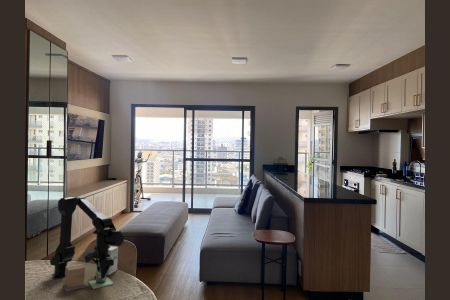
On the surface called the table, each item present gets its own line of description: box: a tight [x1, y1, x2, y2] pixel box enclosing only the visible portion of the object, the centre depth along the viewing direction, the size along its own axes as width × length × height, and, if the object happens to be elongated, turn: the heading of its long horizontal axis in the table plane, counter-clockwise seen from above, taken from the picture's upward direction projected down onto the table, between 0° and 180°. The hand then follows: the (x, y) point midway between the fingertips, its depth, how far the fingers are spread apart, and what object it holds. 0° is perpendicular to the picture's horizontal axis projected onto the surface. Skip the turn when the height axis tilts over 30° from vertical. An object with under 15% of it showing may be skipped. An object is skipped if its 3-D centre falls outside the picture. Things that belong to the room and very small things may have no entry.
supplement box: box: [106, 245, 119, 276], centre depth 157 cm, size 7×7×13 cm
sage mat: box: [88, 276, 114, 290], centre depth 141 cm, size 9×9×1 cm
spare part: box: [95, 270, 107, 283], centre depth 142 cm, size 5×5×5 cm
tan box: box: [62, 263, 86, 292], centre depth 137 cm, size 7×8×9 cm
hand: (101, 276), depth 142 cm, fingers open, 6 cm apart
